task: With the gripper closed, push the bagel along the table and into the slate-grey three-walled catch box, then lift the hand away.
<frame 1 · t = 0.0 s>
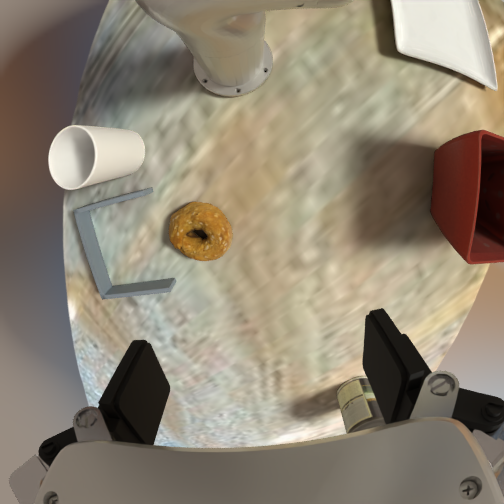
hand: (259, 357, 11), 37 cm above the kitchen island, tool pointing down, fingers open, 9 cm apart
bagel: (201, 228, 48), on the kitchen island
catch box: (129, 242, 49), on the kitchen island
square plate: (436, 20, 32), on the kitchen island
coffee can: (355, 389, 61), on the kitchen island
plant pot: (454, 185, 44), on the kitchen island
cup: (124, 152, 43), on the kitchen island
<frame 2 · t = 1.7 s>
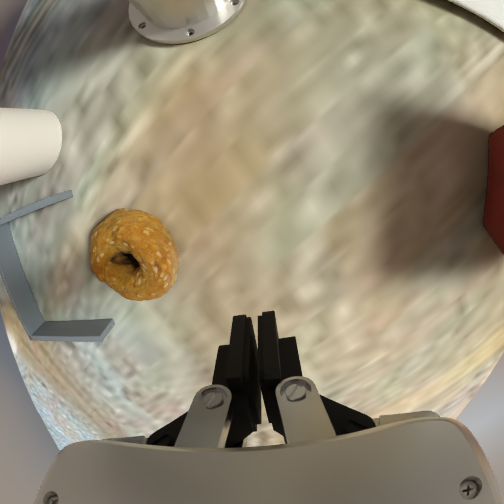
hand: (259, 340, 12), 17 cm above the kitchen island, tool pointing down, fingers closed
bagel: (137, 249, 30), on the kitchen island
catch box: (53, 268, 30), on the kitchen island
cup: (40, 142, 25), on the kitchen island
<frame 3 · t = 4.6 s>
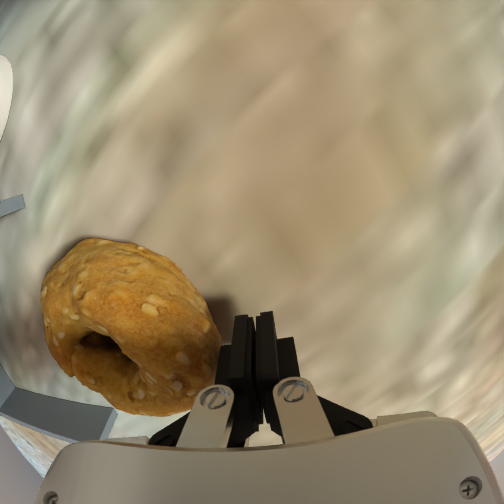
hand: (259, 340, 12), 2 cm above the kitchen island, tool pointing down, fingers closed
bagel: (132, 314, 15), on the kitchen island
catch box: (11, 324, 16), on the kitchen island
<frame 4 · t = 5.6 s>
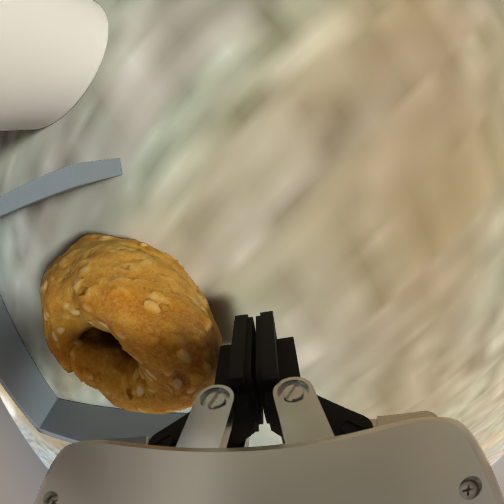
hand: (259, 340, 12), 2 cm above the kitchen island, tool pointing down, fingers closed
bagel: (132, 311, 15), on the kitchen island, touching gripper
catch box: (69, 326, 15), on the kitchen island
cup: (50, 61, 10), on the kitchen island
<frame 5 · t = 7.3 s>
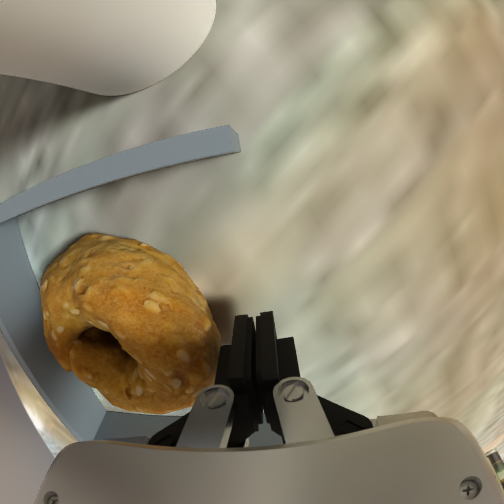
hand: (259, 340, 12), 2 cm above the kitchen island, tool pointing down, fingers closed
bagel: (131, 311, 15), on the kitchen island
catch box: (143, 328, 15), on the kitchen island
coffee can: (475, 464, 27), on the kitchen island
cup: (134, 23, 9), on the kitchen island
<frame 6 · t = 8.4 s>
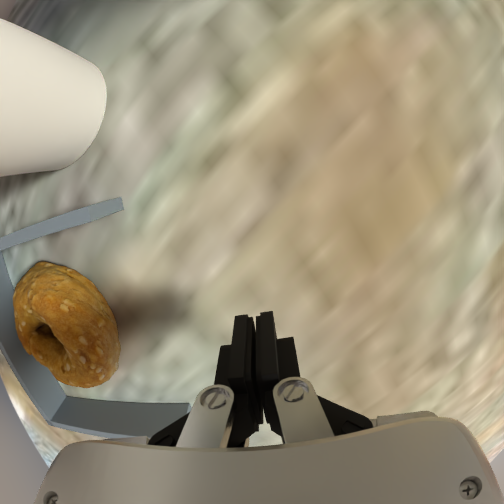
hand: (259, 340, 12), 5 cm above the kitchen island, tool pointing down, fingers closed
bagel: (72, 315, 19), on the kitchen island
catch box: (81, 328, 19), on the kitchen island
cup: (60, 113, 14), on the kitchen island
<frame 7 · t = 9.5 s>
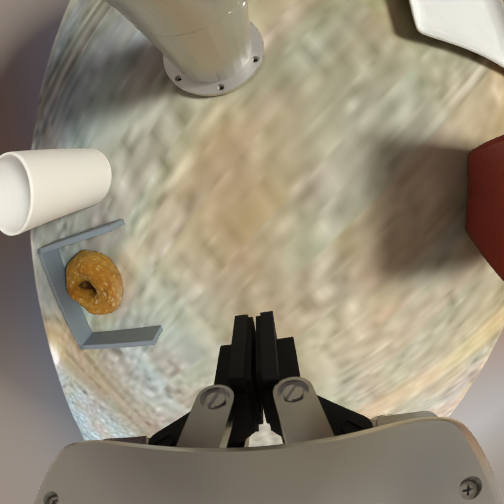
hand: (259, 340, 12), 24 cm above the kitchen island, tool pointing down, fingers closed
bagel: (98, 277, 39), on the kitchen island
catch box: (104, 285, 39), on the kitchen island
plant pot: (489, 193, 33), on the kitchen island
cup: (88, 177, 34), on the kitchen island
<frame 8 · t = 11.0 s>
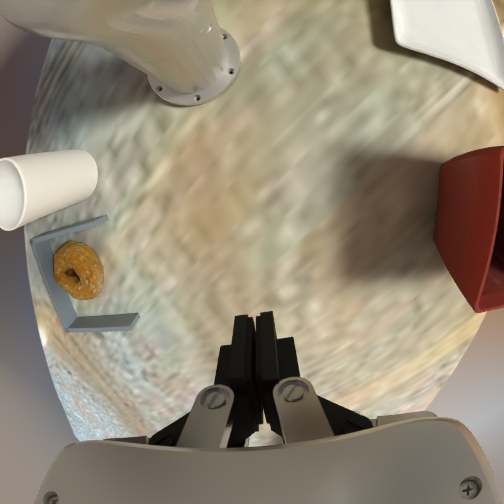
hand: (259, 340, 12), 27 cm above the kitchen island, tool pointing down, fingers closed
bagel: (82, 266, 42), on the kitchen island
catch box: (89, 274, 42), on the kitchen island
square plate: (442, 9, 25), on the kitchen island
plant pot: (462, 205, 37), on the kitchen island
cup: (77, 175, 36), on the kitchen island
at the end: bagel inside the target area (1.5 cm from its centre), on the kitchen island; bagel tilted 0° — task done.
